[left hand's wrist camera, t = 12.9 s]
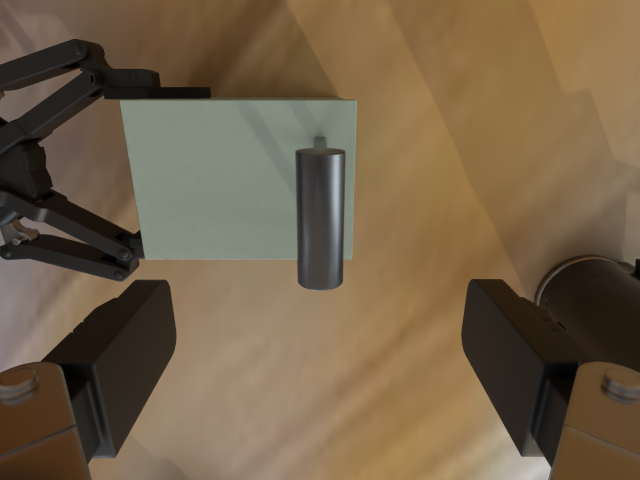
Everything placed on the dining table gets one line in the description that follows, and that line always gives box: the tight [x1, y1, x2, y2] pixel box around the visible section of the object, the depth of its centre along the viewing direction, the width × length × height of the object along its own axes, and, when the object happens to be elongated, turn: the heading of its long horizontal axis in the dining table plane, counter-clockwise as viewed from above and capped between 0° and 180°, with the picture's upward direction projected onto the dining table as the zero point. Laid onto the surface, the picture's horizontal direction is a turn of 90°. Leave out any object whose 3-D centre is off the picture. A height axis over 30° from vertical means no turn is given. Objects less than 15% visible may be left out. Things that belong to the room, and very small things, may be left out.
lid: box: [120, 100, 357, 291], centre depth 22 cm, size 14×10×9 cm
